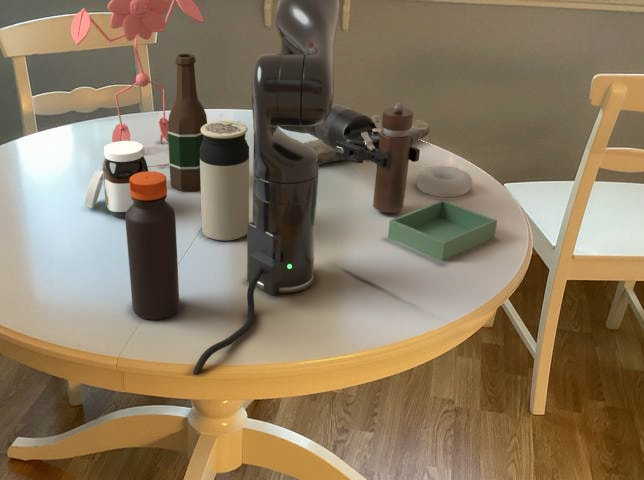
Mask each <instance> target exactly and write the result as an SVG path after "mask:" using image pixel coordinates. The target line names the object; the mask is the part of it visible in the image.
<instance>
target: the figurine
mask: <svg viewBox="0 0 644 480" xmlns="http://www.w3.org/2000/svg"><path fill="white" fill-rule="evenodd" d="M176 3H177V5H178V6H179V8H180V9H181V11H182V12H183V13H184V14H185V15H186V16H188V17H189V18H190V19H192V20H193V21H195V22H198V23H201V24H203V23H204V18H203V16H202V15H203V14H202V12H201V10H200V9H199V7H198V6H197V4H196V3H195V2H194V1H193V0H172V1H171V2H170V1H169V0H110V1H109V2H108V4H107V10H108V11H109V12H111V13H112V14H111V16H110V20H109V25H110V28H112V29H114V30H115V29H119V28H122V31H123V33H122V34H119V35H117V36H114V37H111V38H110V37H109V36H108V35H107V34H106V33H105V32H104V31H103V29H101V27H100V26H99V25H98V24H97V22H95V20H94V19H93V18H92V16H90V13H88V12H87V9H86V8H81V10H80V11H79V12H77V13H76V14H75V15H74V17H73V19H72V21H71V24H70V34H71V37H72V40H73V41H74V43H75V45H76V46H78V45H79V44H81V42H83V41H84V39H85V38H86V37H87V36H88V34H89V32H90V29H91V25H93V26H94V27H95V28H96V30H97V31H98V32H99V33H100V34H101V35H102V36H103V37H104V39H105V40H106V41H108V42H109V43H112V42H114V41H117V40H119V39H122V38H124V37H125V40H127V42H132V41H134V45H133V46H134V47H133V49H134V54H135V57H136V59H137V63H138V66H139V69H140V73H138V74H137V75H136V77H135V83H133V84H131V85H129V86H127V87H125V88H124V89H121V90H119V91H118V92H116V93H115V94H114V98H115V103H116V108H117V114H118V119H119V123H118V124H116V126H115V127H114V129H113V131H112V135H111V143H113V142H118V141H131V133H130V129H129V126H128V125H126V124H125V123H123V122H122V116H121V111H120V105H119V100H118V95H119V94H121V93H123V92H125V91H127V90H129V89H131V88H134V86H135V87H136V85H138V86H139V87H141V88H144V87H147V86H148V85H149V84H151V85H154V86H156V87H159V88H161V89H162V106H163V107H162V109H163V111H162V112H163V114H162V115H163V117H160V118H159V119H158V128H159V132H160V136H159V144H163V139H164V140H165V141H166V142H167V143H169V142H168V120H169V119H167V118H166V89H165V86H163V85H161V84H159V83H156V82H154V81H151V80H150V77H149V75H148V74H147V73H146V72H144V69H143V66H142V63H141V62H142V61H141V58H140V55H139V51H138V36H139V37H140V38H141V39H142V40H146V41H148V40H149V39H151V37H152V35H153V33H164V32H165V30H166V27H167V24H168V22H169V19H170V17H171V14H172V12H173V9H174V6H175V4H176ZM166 13H167V14H166ZM164 14H166V17H165V18H164V17H163V16H162V15H164ZM162 166H164V167H167V166H169V163H166V164H165V163H164V164H158V165H150V166H149V165H147V167H148V168H152V167H153V168H154V167H162Z"/></svg>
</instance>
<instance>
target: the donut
mask: <svg viewBox="0 0 644 480" xmlns="http://www.w3.org/2000/svg"><path fill="white" fill-rule="evenodd" d="M415 183H416V186H417V188H418V190H419V191H421V192H422V193H424V194H427V195H429V196H433V197H438V198H440V197H441V198H456V197H461V196H463V195H465V194H467V193H469V191H470V190H471V188H472V185H473V179H472V177H471V176H470V174H469V173H468V172H467V171H465V170H463V169H460V168H458V167H453V166H446V165H437V166H430V167H427V168H424V169H423V170H421V171H420V172H419V173H418V175H417V176H416V180H415Z"/></svg>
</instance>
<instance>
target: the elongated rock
mask: <svg viewBox="0 0 644 480" xmlns="http://www.w3.org/2000/svg"><path fill="white" fill-rule="evenodd" d="M370 118H371V119H372V120H373V122H374V124H375V126H376V128H377V129H381V130H383V129H384V128H383V127H382V121H383V113H381V112H380V113H379V114H378V113H374V114H373V115H372V117H370ZM430 128H431V127H430V124H429V122H427V121H424V120H422V119H414V118H413V120H412V127H411V128H410V129H409V131H410V132H411V133H412V137H413V138H414V139H413V144H415V143H416V141H419V140H423V139H424V138H426V137H427V136H428V135H429V133H430V131H431V130H430ZM303 143H304V144H306V145H308V146H310V147H312V148H313V149H314V150H315V151H316V152H317V154H318V157H319V165H321V164H326V163H334V162H338V161H339V162H341V161H342V162H343V161H345V160H346V159H344V158H341V157H339V156H336V155H335V151H336V149H334V148H332V147H330V146H328V145H326V144H325V143H324V142H323V141H321V140H320V139H318V138H317V139H314V140H310V141H309V140H308V141H306V142H303Z"/></svg>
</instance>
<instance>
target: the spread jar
mask: <svg viewBox="0 0 644 480" xmlns="http://www.w3.org/2000/svg"><path fill="white" fill-rule="evenodd" d="M103 151H104V152H103V153H104V159H103V161H102V170H101V169H95V170H94V173H93V175H92V176H91V180H90V182H89V185H88V188H87V191H86V195H85V201H84V206H85V207H86V208H90V209H93V208H95V206H96V203H97V201H98V199H99V196H100V193H101V190H102V187H103V189H104V198H105V204H106V209H107V211H108V213H109V214H110V215H112V216H114V217H117V218H123V219H125V214H126V212H127V210H128V209H129V208H130V206H131V205H132V204H133V200H132V199H131V194H130V182H129V179H130V177H131V176H132V175H134V174H136V173H140V172H147V171H149V167H147V166H148V163H147V161H146V159H145V157H144V154H145V150H144V145H143V144H142V143H140V142H138V141H134V140H130V141H118V142H113V143H112V142H111V143H108V144H106V145H105V146H104V148H103Z"/></svg>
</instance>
